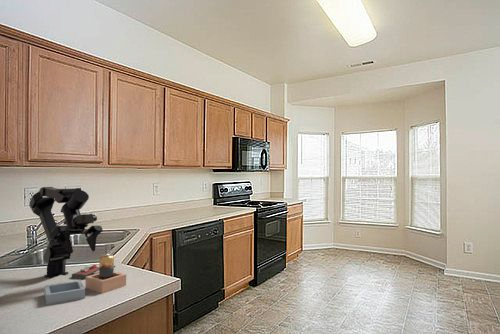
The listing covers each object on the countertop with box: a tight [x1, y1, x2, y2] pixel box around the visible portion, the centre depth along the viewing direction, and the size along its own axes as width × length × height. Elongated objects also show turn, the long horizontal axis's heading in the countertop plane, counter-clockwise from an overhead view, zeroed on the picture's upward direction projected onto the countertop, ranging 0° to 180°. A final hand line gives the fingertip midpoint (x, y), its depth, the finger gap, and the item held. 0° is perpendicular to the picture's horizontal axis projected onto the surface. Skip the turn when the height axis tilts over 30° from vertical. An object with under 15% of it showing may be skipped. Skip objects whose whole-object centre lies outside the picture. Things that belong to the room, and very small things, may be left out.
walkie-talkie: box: [71, 264, 117, 281], centre depth 141 cm, size 9×4×20 cm
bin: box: [84, 271, 127, 294], centre depth 123 cm, size 10×10×5 cm
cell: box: [98, 253, 115, 280], centre depth 123 cm, size 5×5×12 cm
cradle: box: [43, 279, 86, 306], centre depth 113 cm, size 11×11×4 cm
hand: (83, 251), depth 126 cm, fingers open, 9 cm apart
